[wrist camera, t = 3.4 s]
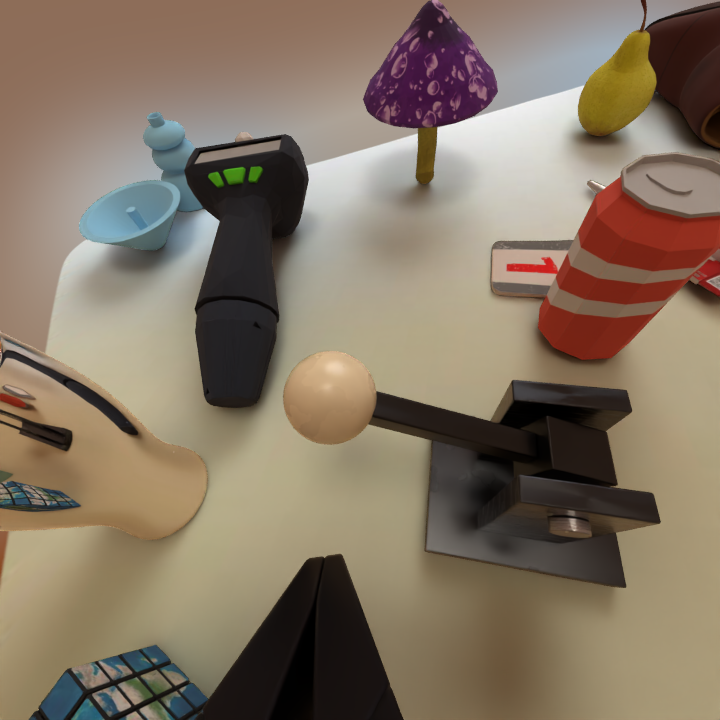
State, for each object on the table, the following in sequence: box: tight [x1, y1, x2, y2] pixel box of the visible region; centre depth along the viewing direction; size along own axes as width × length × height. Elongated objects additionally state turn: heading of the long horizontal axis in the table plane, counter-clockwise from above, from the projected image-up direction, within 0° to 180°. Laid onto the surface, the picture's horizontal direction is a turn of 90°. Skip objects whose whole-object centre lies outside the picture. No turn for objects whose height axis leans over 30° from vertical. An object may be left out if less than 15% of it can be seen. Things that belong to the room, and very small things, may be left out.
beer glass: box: [0, 331, 208, 540], centre depth 17 cm, size 7×7×15 cm
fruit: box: [578, 0, 657, 136], centre depth 36 cm, size 7×7×12 cm
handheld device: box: [184, 132, 309, 408], centre depth 31 cm, size 11×26×10 cm, turn 2°
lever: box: [283, 351, 618, 487], centre depth 14 cm, size 13×4×4 cm, turn 80°
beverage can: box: [538, 152, 720, 360], centre depth 22 cm, size 6×6×12 cm
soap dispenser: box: [79, 112, 203, 251], centre depth 37 cm, size 18×10×9 cm, turn 164°
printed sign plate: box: [491, 240, 574, 298], centre depth 30 cm, size 7×1×10 cm
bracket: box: [425, 380, 661, 588], centre depth 17 cm, size 10×8×10 cm
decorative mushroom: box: [363, 0, 498, 184], centre depth 33 cm, size 12×12×15 cm
